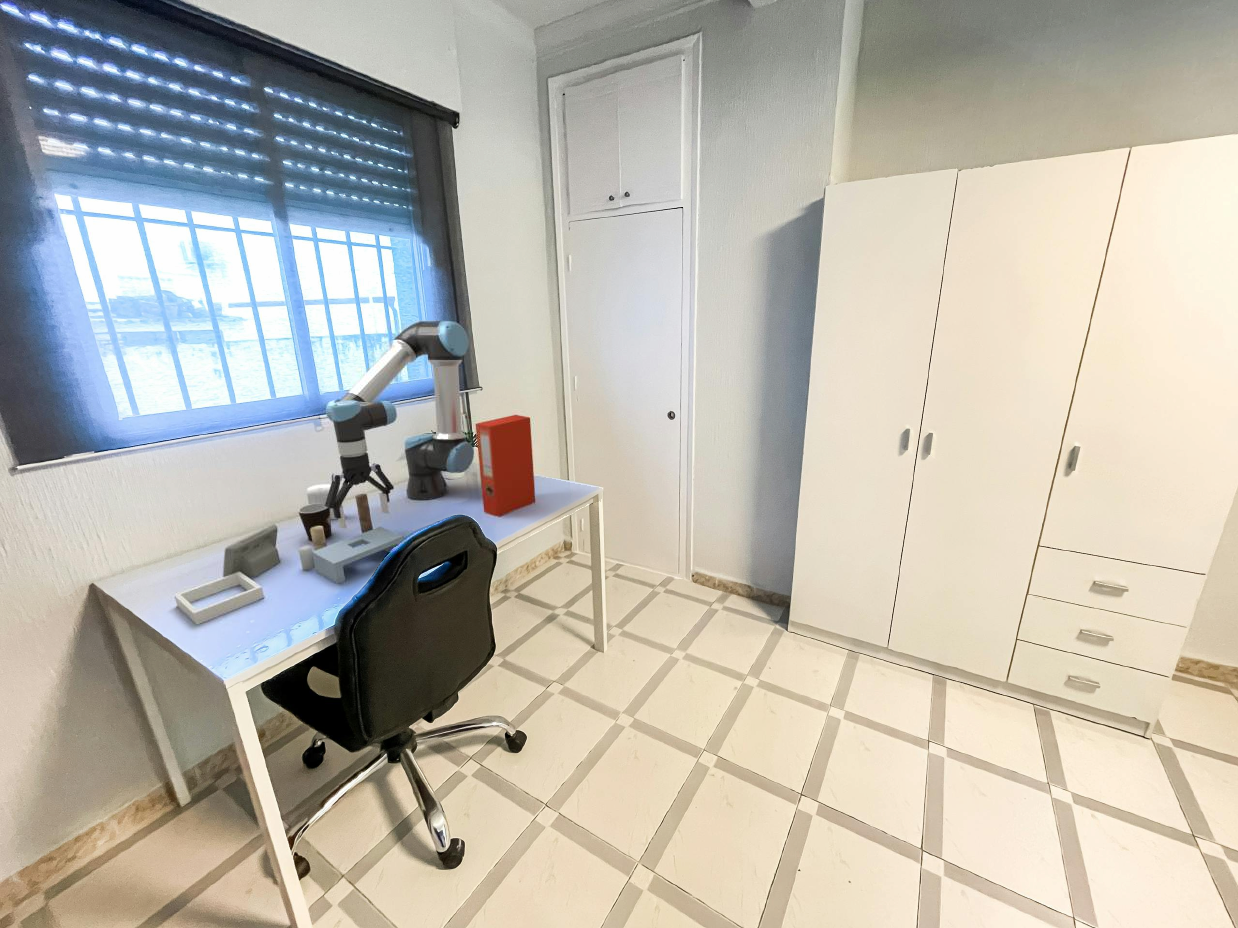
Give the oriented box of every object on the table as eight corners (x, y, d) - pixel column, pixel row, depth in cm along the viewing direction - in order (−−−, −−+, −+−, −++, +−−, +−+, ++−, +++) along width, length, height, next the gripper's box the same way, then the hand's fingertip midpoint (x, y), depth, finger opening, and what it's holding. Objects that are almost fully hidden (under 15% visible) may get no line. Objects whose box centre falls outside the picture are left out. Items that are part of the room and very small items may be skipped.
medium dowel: (325, 552, 154) (319, 524, 151) (330, 555, 152) (324, 527, 149) (314, 556, 151) (308, 528, 149) (319, 559, 150) (313, 531, 147)
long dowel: (371, 537, 163) (363, 493, 159) (376, 539, 162) (369, 495, 157) (361, 541, 161) (353, 496, 156) (366, 543, 159) (358, 498, 155)
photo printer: (346, 515, 182) (340, 481, 178) (341, 519, 178) (335, 486, 174) (315, 517, 180) (308, 483, 177) (310, 521, 176) (302, 487, 173)
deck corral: (242, 581, 138) (239, 571, 137) (264, 597, 130) (261, 586, 130) (177, 605, 128) (173, 594, 127) (197, 624, 120) (193, 613, 119)
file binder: (536, 502, 190) (530, 417, 180) (498, 517, 177) (490, 426, 168) (521, 497, 195) (514, 414, 185) (484, 512, 182) (474, 423, 172)
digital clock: (273, 553, 154) (265, 521, 151) (294, 558, 150) (286, 525, 147) (215, 580, 139) (205, 544, 136) (237, 586, 136) (227, 549, 133)
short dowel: (312, 563, 147) (308, 544, 146) (317, 566, 146) (313, 547, 144) (300, 568, 145) (296, 548, 143) (305, 571, 143) (301, 551, 141)
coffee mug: (321, 543, 160) (315, 513, 157) (298, 541, 161) (291, 512, 158) (347, 528, 170) (342, 500, 168) (325, 526, 172) (319, 498, 169)
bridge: (383, 544, 158) (380, 526, 157) (406, 554, 152) (403, 536, 150) (316, 571, 143) (311, 551, 141) (337, 583, 136) (333, 563, 134)
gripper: (385, 442, 165) (395, 504, 171) (303, 461, 145) (317, 530, 152) (399, 446, 160) (408, 509, 167) (316, 466, 141) (329, 537, 147)
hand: (365, 519), depth 159 cm, fingers open, 13 cm apart
